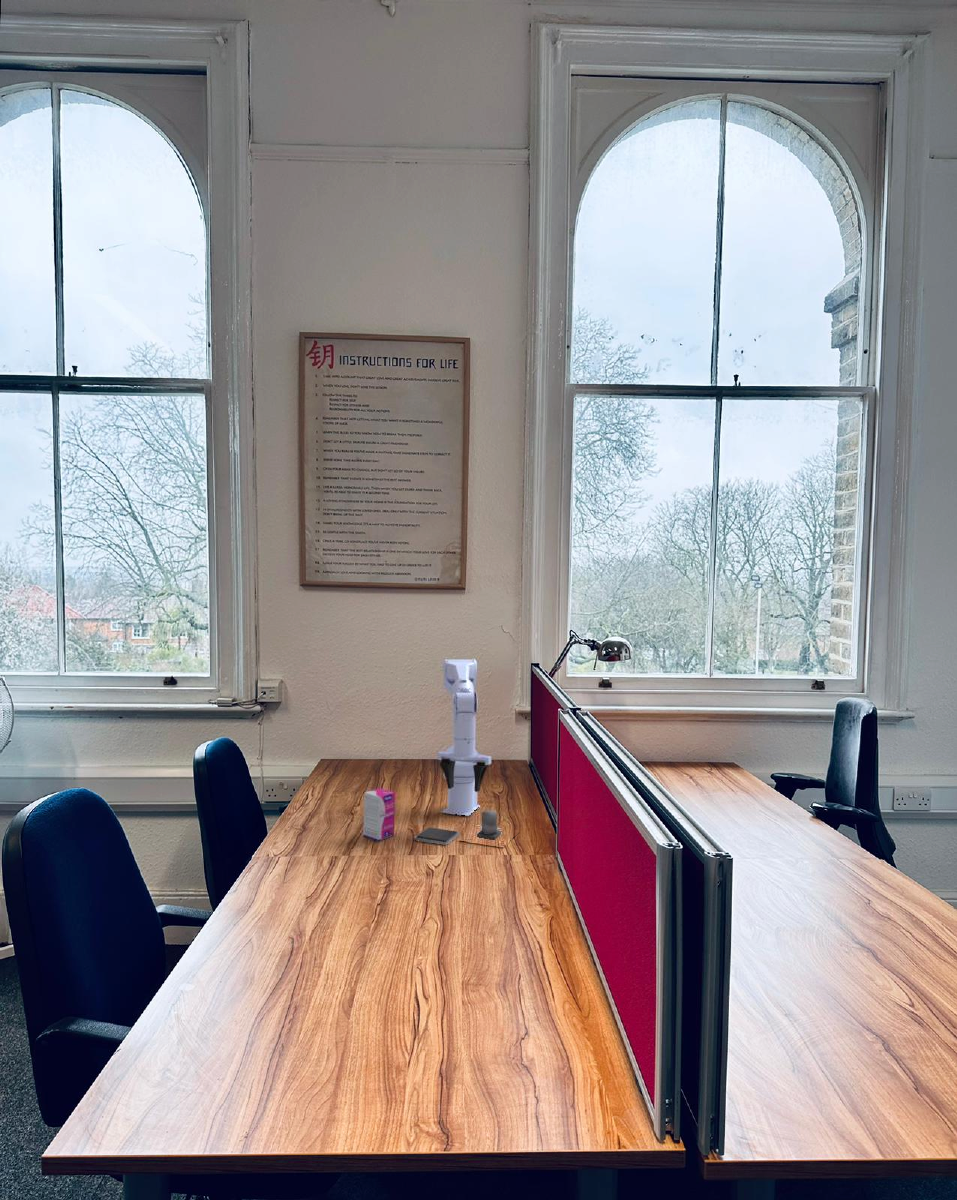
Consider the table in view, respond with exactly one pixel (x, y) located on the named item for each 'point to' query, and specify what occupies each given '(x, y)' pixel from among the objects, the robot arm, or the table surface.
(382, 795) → the supplement box
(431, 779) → the table surface
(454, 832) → the ink pad
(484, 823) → the stamp
